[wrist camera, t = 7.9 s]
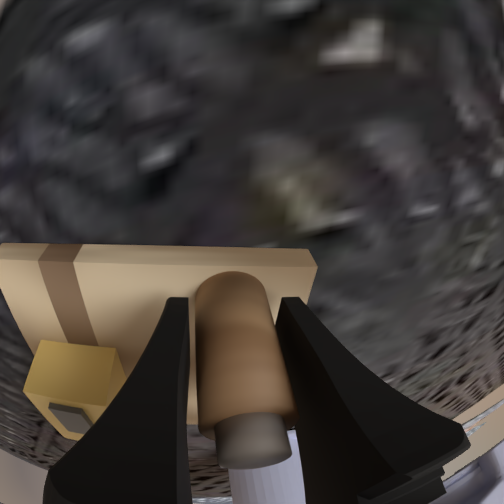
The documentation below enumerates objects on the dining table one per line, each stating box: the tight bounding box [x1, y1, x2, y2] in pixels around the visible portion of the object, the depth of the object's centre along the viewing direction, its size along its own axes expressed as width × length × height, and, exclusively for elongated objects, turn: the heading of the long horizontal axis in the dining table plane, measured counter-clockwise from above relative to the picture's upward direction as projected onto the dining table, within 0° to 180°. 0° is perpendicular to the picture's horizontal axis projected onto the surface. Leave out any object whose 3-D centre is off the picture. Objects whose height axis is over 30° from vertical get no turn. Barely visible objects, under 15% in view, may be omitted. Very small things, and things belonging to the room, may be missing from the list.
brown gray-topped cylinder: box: [195, 271, 300, 470], centre depth 8 cm, size 3×3×6 cm
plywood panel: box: [0, 243, 317, 424], centre depth 13 cm, size 12×13×1 cm
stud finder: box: [23, 340, 127, 441], centre depth 11 cm, size 5×4×3 cm
